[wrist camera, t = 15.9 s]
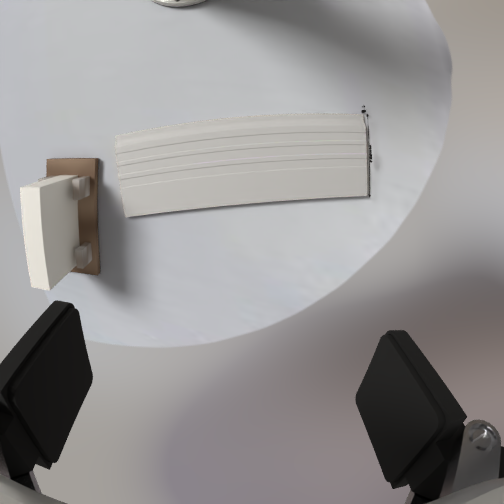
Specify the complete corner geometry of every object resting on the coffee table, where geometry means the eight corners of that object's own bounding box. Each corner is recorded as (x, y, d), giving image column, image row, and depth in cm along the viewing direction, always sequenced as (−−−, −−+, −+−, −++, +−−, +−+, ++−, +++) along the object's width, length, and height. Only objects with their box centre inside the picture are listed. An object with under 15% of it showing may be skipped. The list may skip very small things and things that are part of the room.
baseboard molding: (116, 124, 34) (129, 214, 38) (107, 124, 31) (121, 220, 35) (360, 104, 34) (363, 193, 38) (369, 102, 31) (372, 198, 36)
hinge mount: (50, 158, 34) (34, 161, 30) (98, 158, 34) (84, 161, 30) (56, 266, 39) (43, 277, 35) (100, 272, 40) (89, 284, 36)
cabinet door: (54, 175, 33) (14, 187, 25) (77, 175, 34) (39, 187, 25) (58, 258, 38) (25, 285, 29) (81, 261, 38) (50, 290, 30)
